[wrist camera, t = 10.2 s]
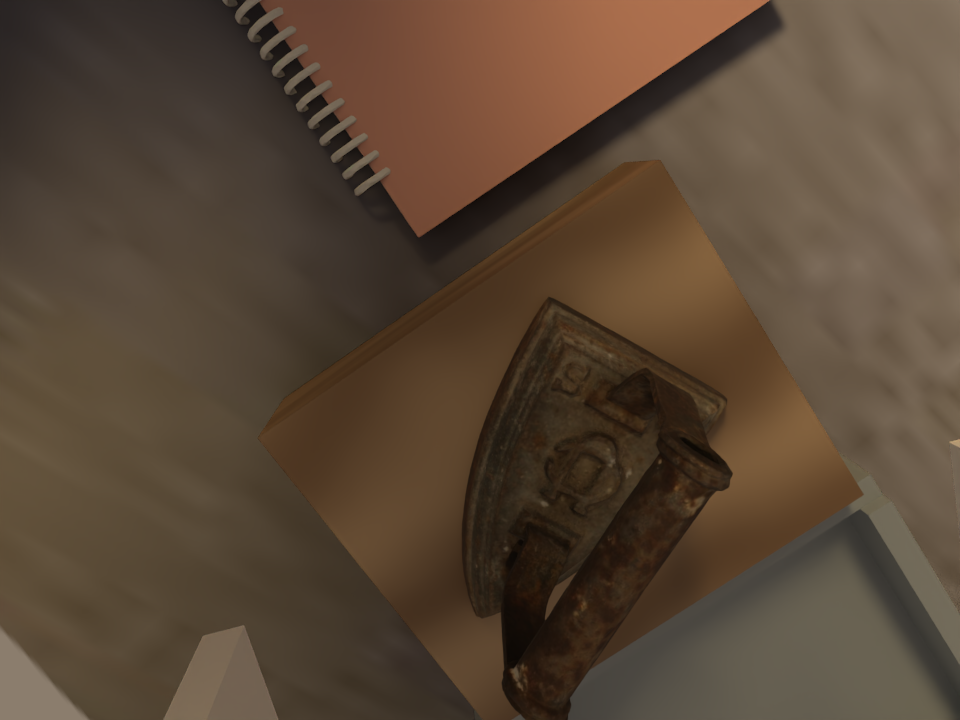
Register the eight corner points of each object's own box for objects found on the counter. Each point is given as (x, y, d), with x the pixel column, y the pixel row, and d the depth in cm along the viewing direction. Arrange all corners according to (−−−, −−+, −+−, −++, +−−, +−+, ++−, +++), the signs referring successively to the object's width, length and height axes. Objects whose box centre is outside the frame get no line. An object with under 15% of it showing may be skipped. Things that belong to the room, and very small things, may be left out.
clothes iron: (730, 369, 28) (855, 568, 19) (554, 587, 33) (591, 830, 24) (559, 275, 26) (611, 446, 18) (397, 519, 31) (374, 754, 22)
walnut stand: (283, 398, 32) (257, 438, 27) (624, 162, 31) (660, 159, 26) (484, 655, 35) (492, 731, 30) (801, 449, 34) (864, 494, 29)
